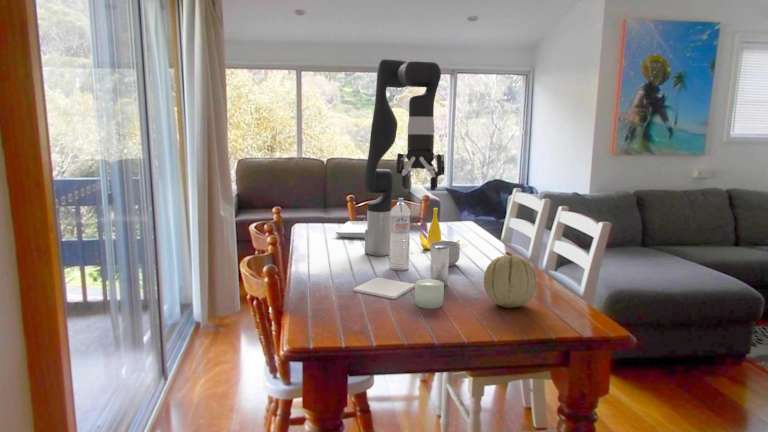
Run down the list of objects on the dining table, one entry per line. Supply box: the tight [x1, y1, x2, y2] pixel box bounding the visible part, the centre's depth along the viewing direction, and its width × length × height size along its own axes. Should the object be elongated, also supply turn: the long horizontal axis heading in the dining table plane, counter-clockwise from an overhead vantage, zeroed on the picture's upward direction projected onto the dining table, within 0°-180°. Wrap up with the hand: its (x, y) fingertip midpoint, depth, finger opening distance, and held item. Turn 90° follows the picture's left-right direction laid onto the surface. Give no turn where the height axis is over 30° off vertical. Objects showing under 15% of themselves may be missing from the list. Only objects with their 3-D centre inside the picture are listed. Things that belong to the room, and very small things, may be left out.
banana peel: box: [419, 207, 461, 250], centre depth 213 cm, size 17×19×17 cm
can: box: [429, 245, 450, 287], centre depth 163 cm, size 6×6×12 cm
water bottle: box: [389, 197, 411, 272], centre depth 178 cm, size 7×7×25 cm
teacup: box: [429, 239, 461, 267], centre depth 188 cm, size 14×11×8 cm
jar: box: [414, 278, 445, 309], centre depth 144 cm, size 8×8×6 cm
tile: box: [353, 276, 415, 300], centre depth 157 cm, size 14×14×1 cm
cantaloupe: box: [483, 251, 538, 309], centre depth 143 cm, size 15×15×15 cm
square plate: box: [335, 220, 367, 239], centre depth 239 cm, size 27×27×4 cm
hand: (419, 189), depth 149 cm, fingers open, 8 cm apart
